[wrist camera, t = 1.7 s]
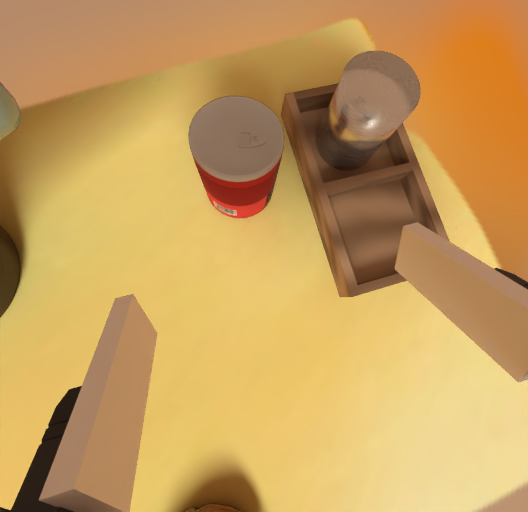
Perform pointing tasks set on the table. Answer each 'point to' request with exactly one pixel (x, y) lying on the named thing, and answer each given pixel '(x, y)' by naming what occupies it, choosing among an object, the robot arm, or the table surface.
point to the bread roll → (213, 508)
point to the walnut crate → (359, 198)
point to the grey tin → (366, 108)
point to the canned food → (237, 153)
